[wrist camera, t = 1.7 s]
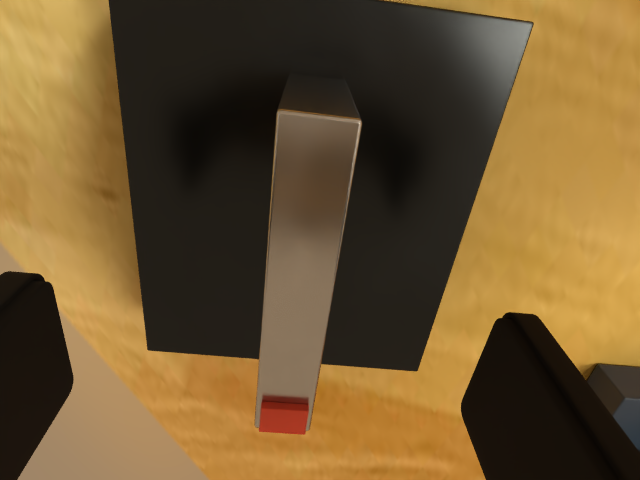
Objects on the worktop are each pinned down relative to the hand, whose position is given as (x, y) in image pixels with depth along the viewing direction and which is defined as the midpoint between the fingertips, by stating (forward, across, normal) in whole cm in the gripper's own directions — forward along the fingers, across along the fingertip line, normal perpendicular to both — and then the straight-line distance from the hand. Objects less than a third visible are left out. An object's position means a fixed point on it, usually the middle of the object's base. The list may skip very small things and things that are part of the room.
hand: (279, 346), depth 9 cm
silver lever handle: (+5, 0, 0) cm, 5 cm away
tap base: (+8, 0, 0) cm, 9 cm away
